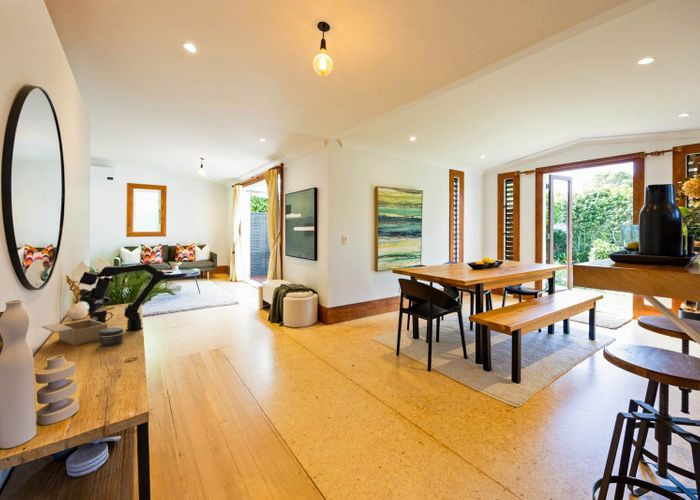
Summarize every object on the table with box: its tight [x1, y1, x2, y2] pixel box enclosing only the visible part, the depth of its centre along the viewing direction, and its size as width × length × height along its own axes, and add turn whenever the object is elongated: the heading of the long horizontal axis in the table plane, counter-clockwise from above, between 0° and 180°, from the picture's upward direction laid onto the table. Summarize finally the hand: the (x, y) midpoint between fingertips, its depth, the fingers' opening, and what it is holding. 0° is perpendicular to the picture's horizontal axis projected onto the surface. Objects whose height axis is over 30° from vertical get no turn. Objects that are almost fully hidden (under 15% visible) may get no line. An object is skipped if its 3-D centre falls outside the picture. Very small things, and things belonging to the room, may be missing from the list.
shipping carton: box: [58, 318, 108, 347], centre depth 169 cm, size 15×19×8 cm
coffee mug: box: [89, 308, 113, 324], centre depth 192 cm, size 12×9×10 cm
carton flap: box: [41, 322, 74, 334], centre depth 160 cm, size 1×18×7 cm
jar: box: [99, 326, 124, 348], centre depth 163 cm, size 10×10×8 cm
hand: (90, 314), depth 175 cm, fingers closed
